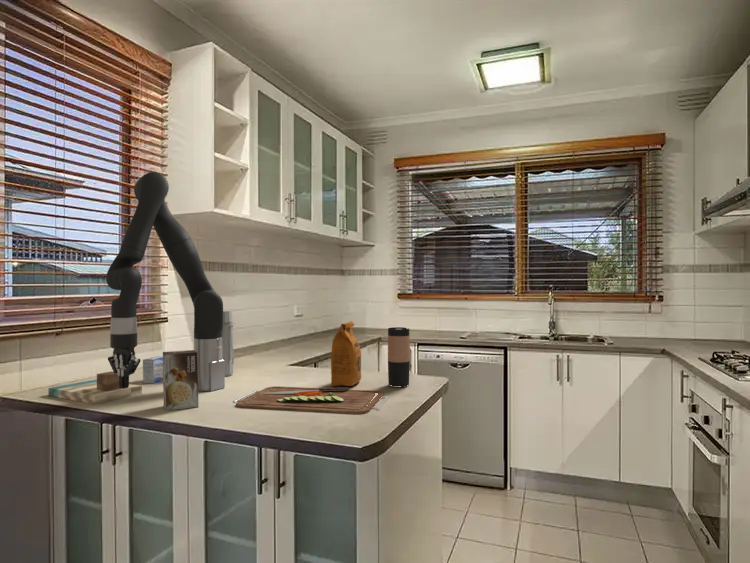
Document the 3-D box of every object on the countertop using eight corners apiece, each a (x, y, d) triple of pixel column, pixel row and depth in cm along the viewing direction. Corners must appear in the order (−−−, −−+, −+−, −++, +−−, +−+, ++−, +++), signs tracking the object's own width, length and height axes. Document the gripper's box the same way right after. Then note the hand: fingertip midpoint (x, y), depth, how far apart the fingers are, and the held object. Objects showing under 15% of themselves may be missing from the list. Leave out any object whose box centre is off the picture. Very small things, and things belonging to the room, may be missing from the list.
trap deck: (141, 393, 166) (141, 386, 166) (94, 404, 152) (94, 395, 152) (96, 386, 178) (96, 379, 178) (48, 395, 164) (48, 387, 164)
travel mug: (384, 386, 177) (384, 328, 177) (392, 382, 184) (392, 326, 184) (405, 388, 174) (405, 329, 174) (412, 384, 181) (412, 327, 181)
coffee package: (365, 381, 185) (365, 321, 185) (353, 388, 173) (353, 324, 173) (340, 380, 188) (340, 320, 188) (326, 387, 176) (326, 323, 176)
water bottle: (209, 376, 197) (209, 311, 197) (225, 372, 204) (225, 310, 203) (224, 378, 192) (224, 311, 192) (241, 375, 198) (241, 310, 198)
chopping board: (223, 408, 149) (223, 398, 149) (262, 389, 175) (262, 380, 175) (374, 417, 140) (374, 405, 140) (392, 395, 166) (392, 386, 166)
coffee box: (195, 402, 154) (195, 349, 154) (198, 407, 149) (198, 352, 149) (162, 406, 150) (162, 351, 150) (164, 411, 144) (164, 354, 144)
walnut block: (121, 388, 163) (121, 372, 163) (106, 391, 158) (106, 375, 158) (111, 386, 165) (111, 371, 165) (96, 389, 161) (96, 373, 161)
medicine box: (153, 383, 183) (153, 359, 183) (142, 383, 184) (142, 359, 184) (166, 379, 191) (166, 356, 191) (156, 379, 192) (156, 355, 192)
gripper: (148, 331, 158) (148, 388, 158) (121, 329, 165) (121, 383, 165) (126, 334, 152) (126, 392, 152) (99, 332, 158) (99, 388, 158)
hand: (123, 387), depth 158 cm, fingers closed
